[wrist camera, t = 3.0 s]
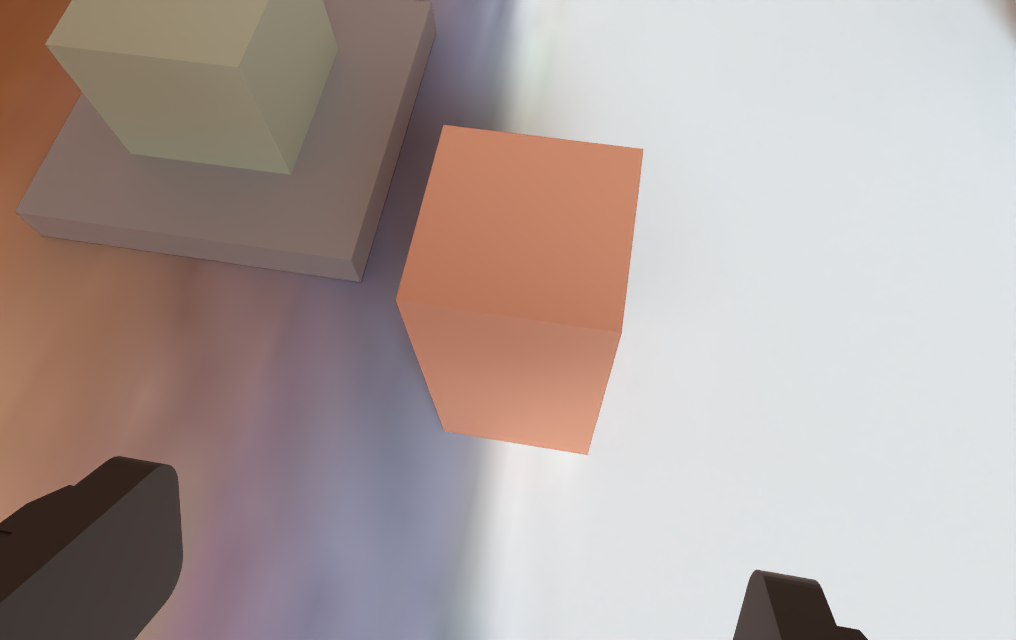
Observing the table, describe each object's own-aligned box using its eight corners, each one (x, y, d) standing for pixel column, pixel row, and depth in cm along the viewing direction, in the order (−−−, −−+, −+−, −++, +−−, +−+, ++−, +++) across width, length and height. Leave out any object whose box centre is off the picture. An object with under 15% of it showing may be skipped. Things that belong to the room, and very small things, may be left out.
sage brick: (191, 32, 28) (126, -89, 23) (338, 49, 27) (300, -72, 23) (130, 153, 25) (44, 44, 21) (291, 174, 25) (238, 66, 20)
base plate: (166, 2, 31) (149, -28, 30) (435, 31, 30) (431, 2, 28) (41, 235, 26) (14, 212, 24) (360, 282, 25) (351, 260, 23)
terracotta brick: (472, 304, 24) (443, 124, 16) (604, 323, 24) (643, 149, 16) (444, 431, 22) (395, 299, 14) (587, 454, 22) (621, 332, 14)
